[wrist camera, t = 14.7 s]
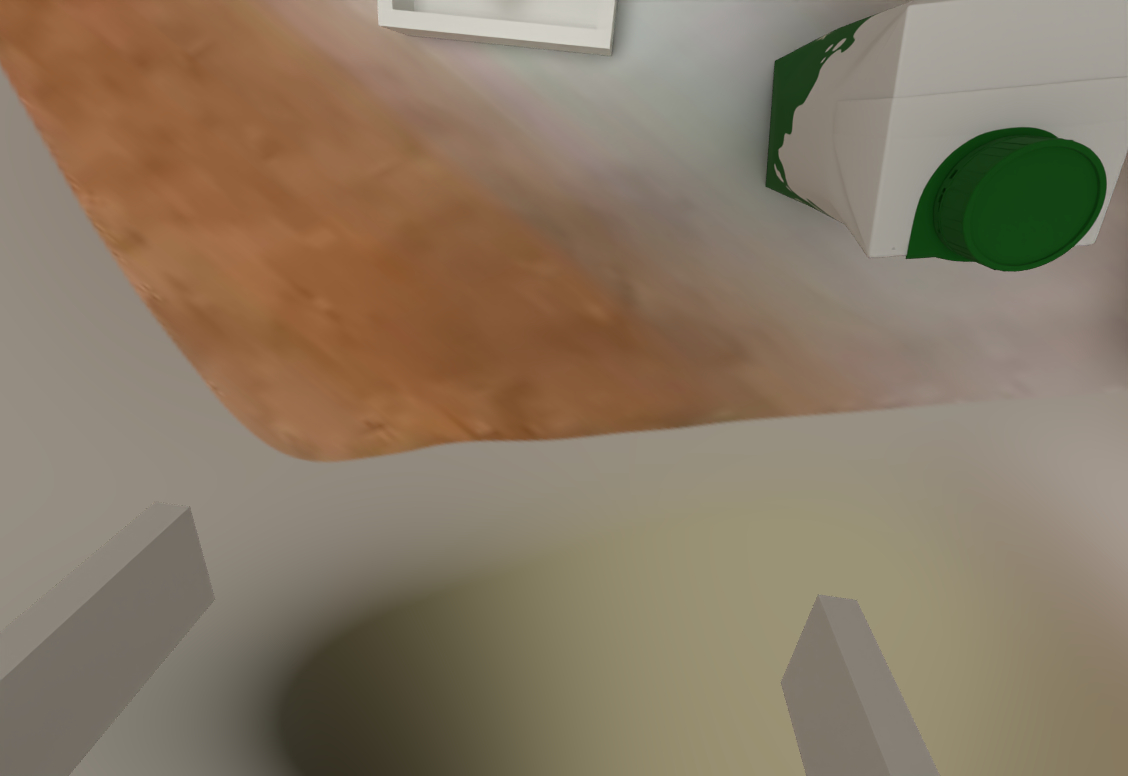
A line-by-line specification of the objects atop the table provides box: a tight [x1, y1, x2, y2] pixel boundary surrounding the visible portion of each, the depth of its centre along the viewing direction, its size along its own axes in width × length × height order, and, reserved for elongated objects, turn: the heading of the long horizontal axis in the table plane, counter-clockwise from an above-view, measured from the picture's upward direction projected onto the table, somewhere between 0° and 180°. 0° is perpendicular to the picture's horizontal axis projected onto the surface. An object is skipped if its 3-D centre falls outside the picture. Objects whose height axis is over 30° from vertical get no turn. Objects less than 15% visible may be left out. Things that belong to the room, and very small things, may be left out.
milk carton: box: [766, 0, 1128, 272], centre depth 25 cm, size 9×9×20 cm
